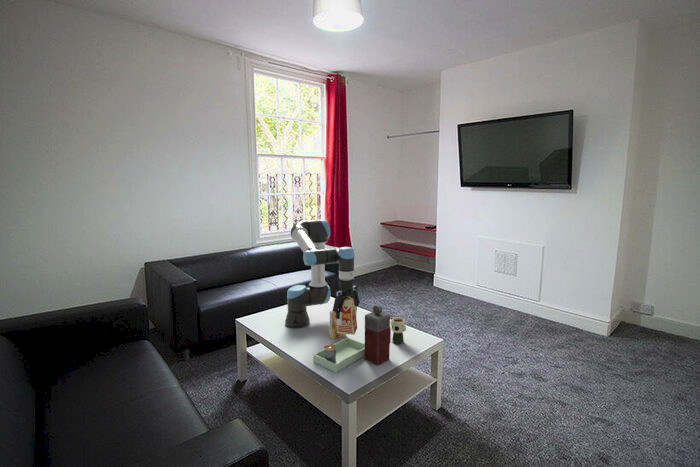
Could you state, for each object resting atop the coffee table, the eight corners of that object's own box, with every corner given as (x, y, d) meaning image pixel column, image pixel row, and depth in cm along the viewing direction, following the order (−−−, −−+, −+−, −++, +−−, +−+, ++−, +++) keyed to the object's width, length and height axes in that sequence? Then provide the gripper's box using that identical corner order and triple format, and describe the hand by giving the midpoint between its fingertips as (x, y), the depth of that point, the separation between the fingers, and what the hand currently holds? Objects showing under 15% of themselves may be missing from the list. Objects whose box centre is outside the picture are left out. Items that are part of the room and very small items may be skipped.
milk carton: (354, 334, 169) (354, 295, 166) (336, 333, 170) (335, 294, 168) (357, 327, 177) (357, 289, 175) (340, 326, 179) (340, 288, 176)
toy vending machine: (392, 357, 173) (393, 304, 169) (377, 365, 165) (378, 310, 161) (379, 351, 179) (379, 299, 175) (364, 359, 171) (364, 305, 167)
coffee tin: (322, 363, 166) (322, 347, 165) (330, 358, 171) (330, 343, 169) (330, 367, 163) (330, 351, 162) (338, 362, 167) (338, 346, 166)
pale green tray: (313, 362, 169) (313, 354, 168) (347, 344, 187) (347, 337, 187) (336, 373, 159) (336, 364, 158) (369, 352, 178) (369, 345, 177)
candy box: (343, 333, 201) (343, 308, 199) (346, 336, 197) (346, 310, 195) (329, 336, 197) (329, 310, 195) (332, 339, 193) (332, 313, 191)
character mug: (386, 340, 192) (386, 318, 190) (395, 336, 196) (395, 315, 194) (400, 347, 183) (401, 324, 181) (409, 343, 188) (410, 321, 186)
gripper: (336, 285, 159) (336, 330, 162) (366, 275, 176) (366, 316, 179) (324, 282, 164) (325, 326, 167) (355, 272, 181) (355, 312, 184)
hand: (346, 321), depth 173 cm, fingers closed on milk carton, 10 cm apart
